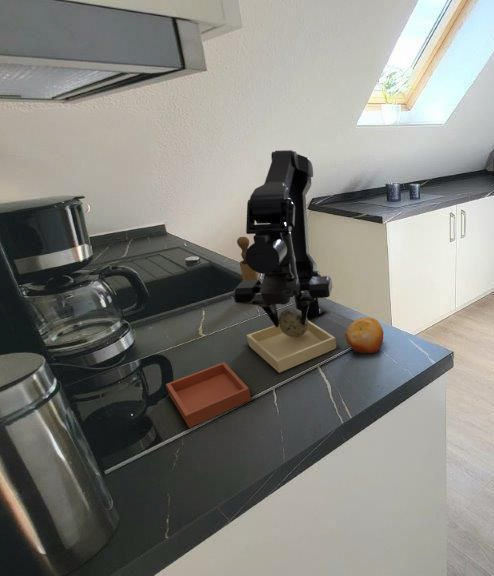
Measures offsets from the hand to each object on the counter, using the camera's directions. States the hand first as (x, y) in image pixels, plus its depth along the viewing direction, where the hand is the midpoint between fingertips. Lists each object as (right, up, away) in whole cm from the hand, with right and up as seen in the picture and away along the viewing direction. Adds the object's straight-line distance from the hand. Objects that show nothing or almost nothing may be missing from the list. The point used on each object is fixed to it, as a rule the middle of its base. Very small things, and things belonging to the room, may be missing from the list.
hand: (290, 325), depth 87 cm
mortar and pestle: (-20, +5, +28) cm, 35 cm away
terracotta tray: (-10, -12, -13) cm, 20 cm away
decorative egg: (-1, -1, +7) cm, 7 cm away
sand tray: (-1, -5, +3) cm, 6 cm away
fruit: (+16, -5, +2) cm, 17 cm away
